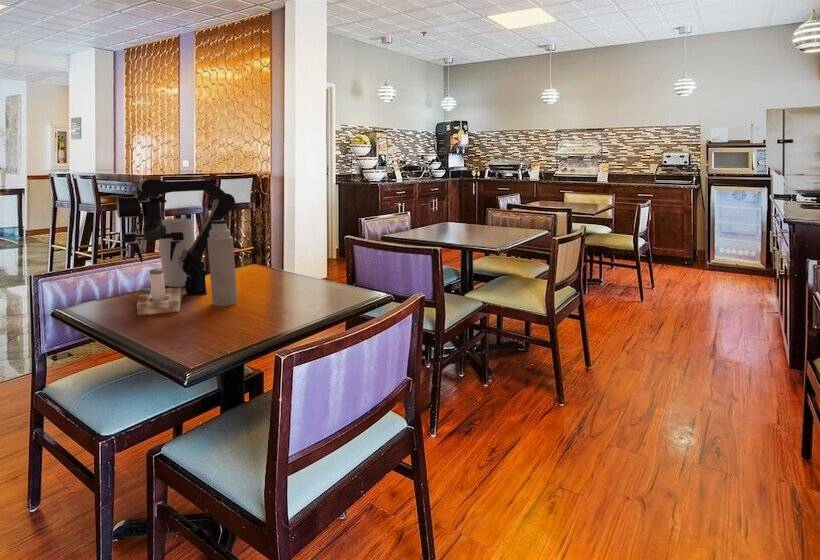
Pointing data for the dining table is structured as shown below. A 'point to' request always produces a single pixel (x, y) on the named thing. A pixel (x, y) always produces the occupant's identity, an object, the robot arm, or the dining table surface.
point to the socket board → (159, 302)
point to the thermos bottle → (222, 264)
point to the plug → (157, 285)
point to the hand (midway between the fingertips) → (156, 261)
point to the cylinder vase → (175, 251)
